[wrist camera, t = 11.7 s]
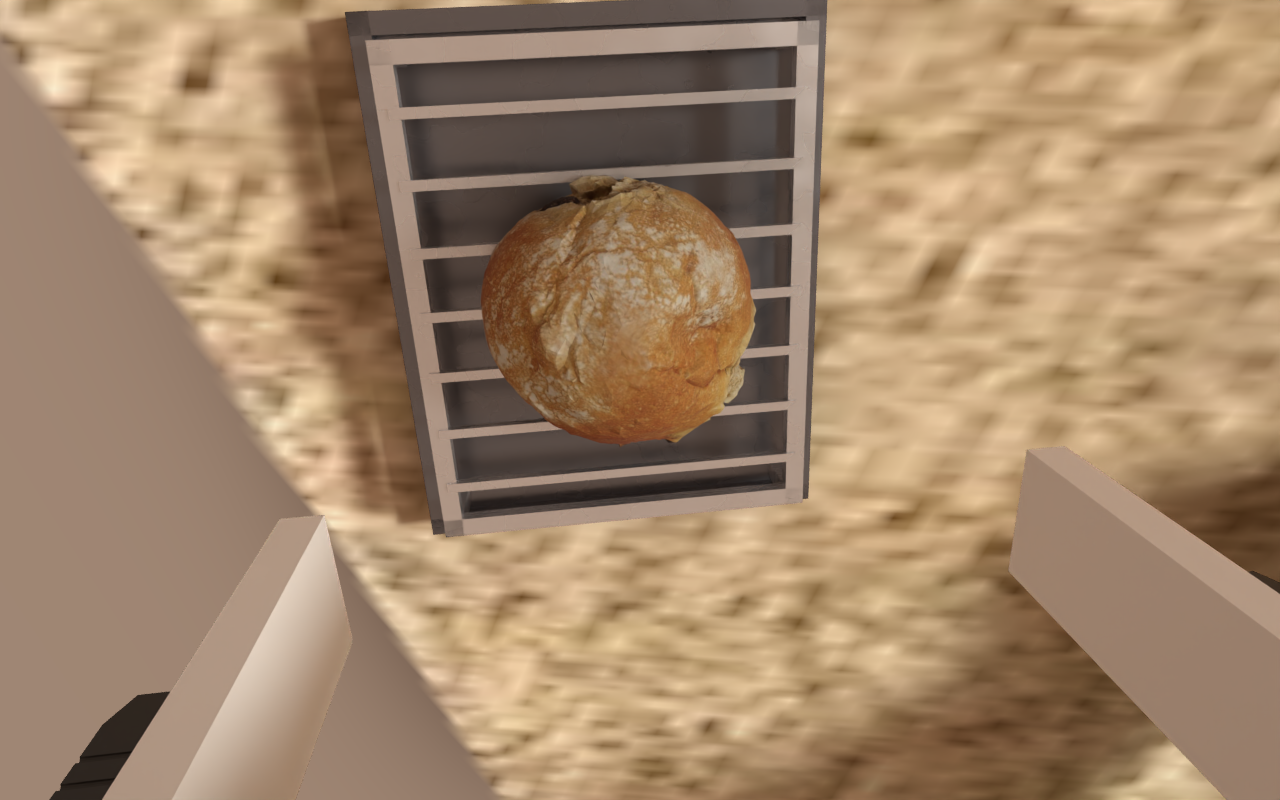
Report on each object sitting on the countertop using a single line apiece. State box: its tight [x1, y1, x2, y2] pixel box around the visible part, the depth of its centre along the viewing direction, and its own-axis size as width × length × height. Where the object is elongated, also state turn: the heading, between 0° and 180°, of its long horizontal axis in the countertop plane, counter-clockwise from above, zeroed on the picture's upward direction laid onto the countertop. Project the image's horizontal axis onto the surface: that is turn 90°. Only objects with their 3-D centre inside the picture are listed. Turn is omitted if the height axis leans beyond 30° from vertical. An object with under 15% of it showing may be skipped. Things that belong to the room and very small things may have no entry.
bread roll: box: [481, 175, 756, 447], centre depth 29 cm, size 10×10×8 cm
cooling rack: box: [345, 0, 827, 537], centre depth 33 cm, size 18×22×4 cm
